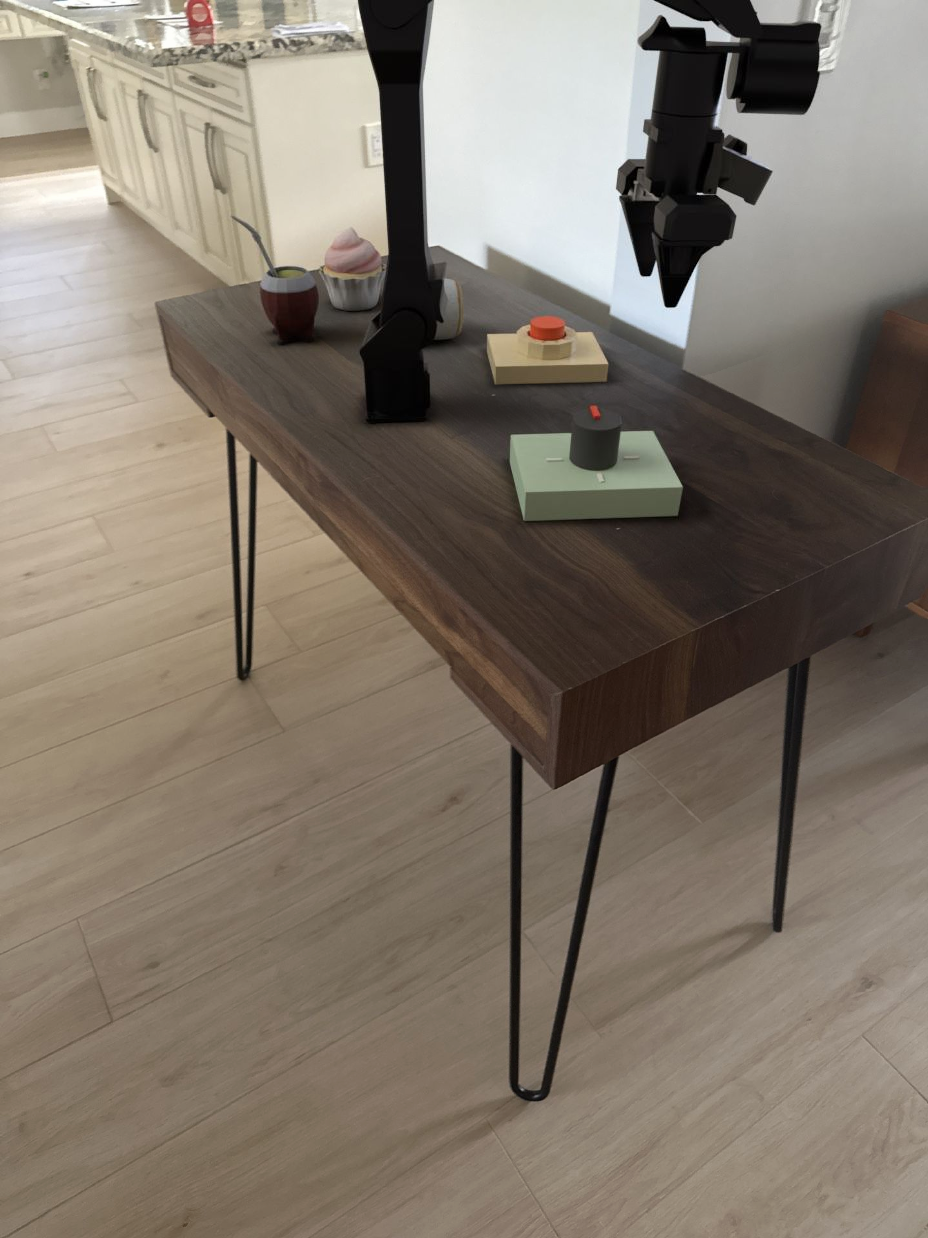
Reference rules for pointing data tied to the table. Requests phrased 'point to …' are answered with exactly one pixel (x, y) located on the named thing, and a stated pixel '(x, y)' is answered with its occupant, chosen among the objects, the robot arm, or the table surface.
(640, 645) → the table surface
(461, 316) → the ceramic mug
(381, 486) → the table surface
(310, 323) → the mate gourd
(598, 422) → the timer knob
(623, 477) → the panel
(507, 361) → the beige button base
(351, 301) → the cupcake
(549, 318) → the power button
